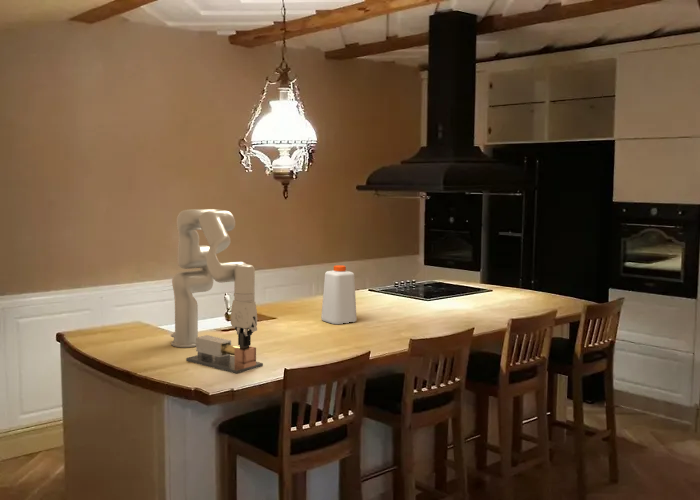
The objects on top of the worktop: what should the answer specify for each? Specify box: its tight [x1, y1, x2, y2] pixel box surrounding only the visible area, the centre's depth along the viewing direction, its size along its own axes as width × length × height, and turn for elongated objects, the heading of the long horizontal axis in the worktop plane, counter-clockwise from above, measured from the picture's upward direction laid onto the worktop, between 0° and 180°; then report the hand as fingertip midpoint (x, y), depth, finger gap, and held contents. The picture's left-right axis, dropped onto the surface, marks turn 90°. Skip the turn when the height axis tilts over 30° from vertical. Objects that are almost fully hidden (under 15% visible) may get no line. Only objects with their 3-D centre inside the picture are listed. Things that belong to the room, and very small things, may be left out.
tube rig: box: [185, 334, 264, 375], centre depth 285 cm, size 28×14×9 cm, turn 53°
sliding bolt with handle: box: [222, 331, 249, 356], centre depth 282 cm, size 17×4×10 cm, turn 53°
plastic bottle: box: [321, 264, 357, 325], centre depth 367 cm, size 15×15×28 cm
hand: (244, 344), depth 278 cm, fingers closed on sliding bolt with handle, 2 cm apart
